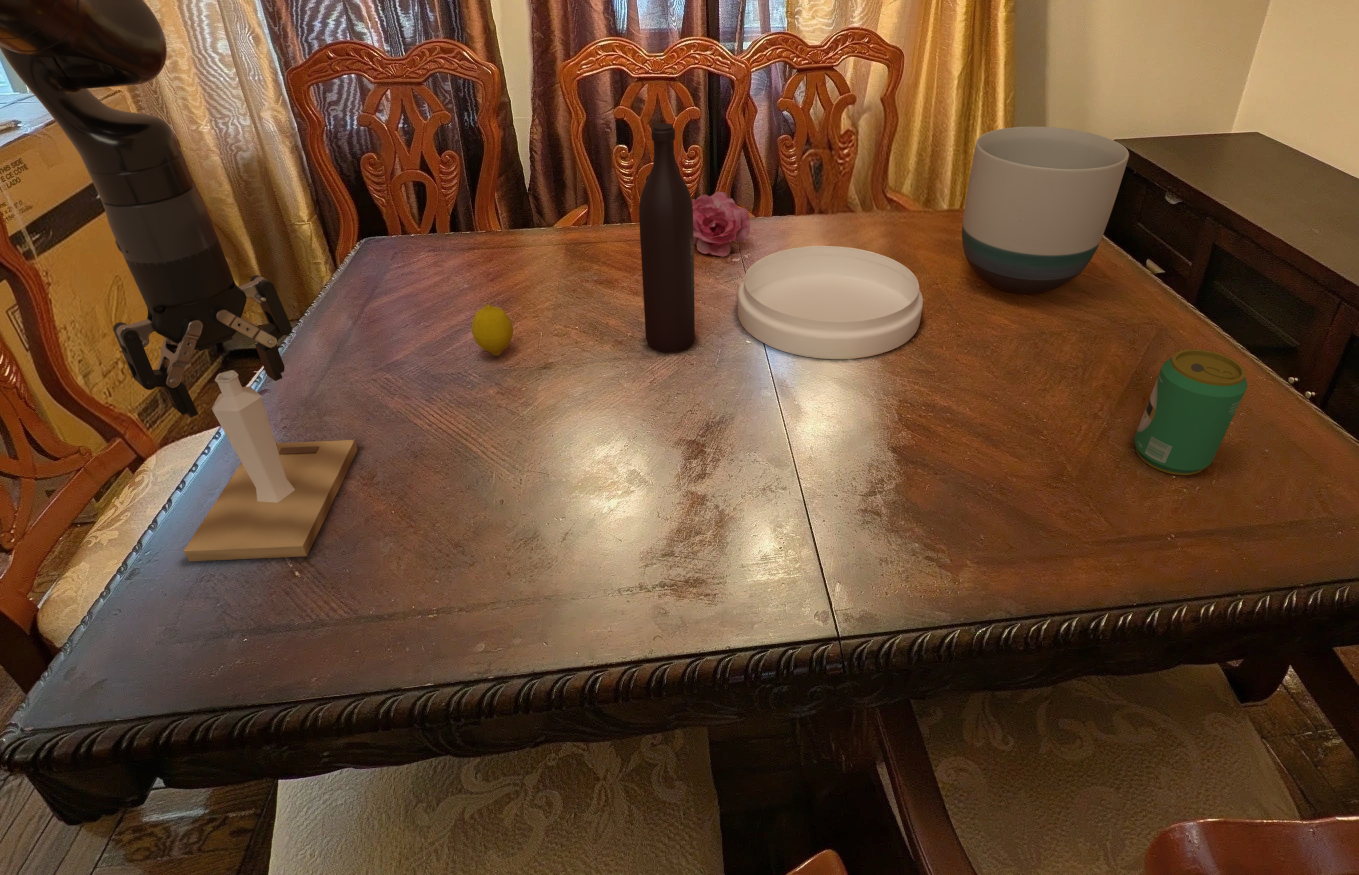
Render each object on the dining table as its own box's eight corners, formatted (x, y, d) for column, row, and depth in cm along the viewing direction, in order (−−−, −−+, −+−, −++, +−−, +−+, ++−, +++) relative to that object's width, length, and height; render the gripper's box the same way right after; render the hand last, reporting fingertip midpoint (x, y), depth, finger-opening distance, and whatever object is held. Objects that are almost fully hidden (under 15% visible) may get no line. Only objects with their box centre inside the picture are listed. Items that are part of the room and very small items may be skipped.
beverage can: (1138, 427, 96) (1172, 339, 89) (1214, 449, 92) (1256, 359, 85) (1124, 461, 91) (1159, 371, 84) (1203, 486, 87) (1247, 394, 80)
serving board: (307, 556, 82) (302, 544, 81) (188, 561, 82) (182, 549, 81) (357, 449, 96) (354, 438, 95) (257, 453, 96) (252, 442, 95)
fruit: (512, 341, 116) (504, 291, 112) (520, 359, 112) (511, 308, 108) (474, 348, 115) (464, 298, 110) (480, 367, 111) (469, 315, 106)
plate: (958, 331, 115) (966, 297, 112) (799, 378, 106) (801, 343, 103) (849, 262, 135) (852, 231, 132) (706, 297, 126) (706, 265, 123)
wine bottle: (701, 349, 113) (699, 130, 95) (653, 357, 112) (641, 137, 94) (687, 326, 119) (682, 115, 101) (640, 333, 117) (628, 121, 99)
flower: (732, 275, 140) (705, 239, 132) (694, 263, 146) (666, 227, 139) (768, 224, 141) (743, 185, 133) (729, 214, 147) (703, 176, 140)
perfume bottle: (306, 479, 89) (261, 364, 81) (285, 505, 86) (236, 388, 77) (268, 476, 90) (219, 362, 81) (246, 502, 87) (192, 385, 78)
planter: (923, 277, 130) (946, 142, 117) (1005, 247, 138) (1035, 118, 126) (1029, 327, 116) (1069, 180, 103) (1114, 290, 125) (1160, 150, 112)
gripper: (97, 281, 65) (177, 442, 74) (267, 227, 73) (319, 378, 83) (65, 257, 69) (145, 413, 78) (230, 209, 77) (283, 354, 87)
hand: (234, 395), depth 81 cm, fingers open, 8 cm apart
